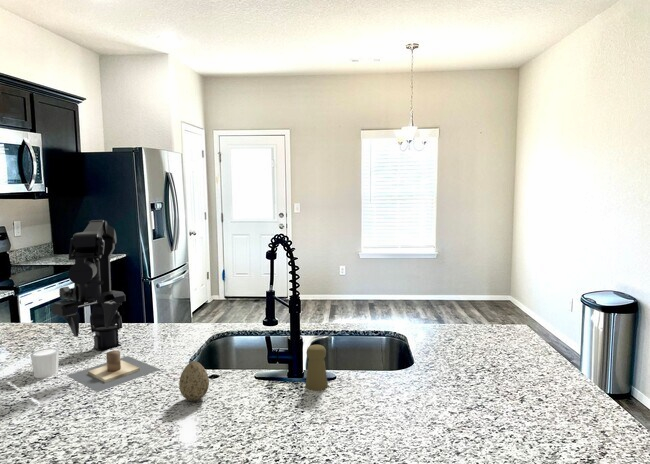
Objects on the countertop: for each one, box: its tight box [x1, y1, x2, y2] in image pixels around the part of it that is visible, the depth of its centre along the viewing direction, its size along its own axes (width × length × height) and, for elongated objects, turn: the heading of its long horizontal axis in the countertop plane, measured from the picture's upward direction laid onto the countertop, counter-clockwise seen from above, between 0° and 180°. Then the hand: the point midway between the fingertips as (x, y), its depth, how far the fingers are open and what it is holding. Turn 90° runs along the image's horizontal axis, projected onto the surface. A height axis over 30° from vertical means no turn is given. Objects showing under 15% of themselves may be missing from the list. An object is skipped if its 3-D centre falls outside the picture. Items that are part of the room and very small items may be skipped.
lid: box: [88, 349, 140, 383], centre depth 125 cm, size 10×10×6 cm
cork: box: [305, 344, 329, 392], centre depth 116 cm, size 6×6×11 cm
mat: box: [66, 355, 161, 393], centre depth 126 cm, size 18×18×1 cm
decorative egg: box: [178, 360, 210, 402], centre depth 109 cm, size 7×7×10 cm
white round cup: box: [30, 347, 60, 379], centre depth 125 cm, size 7×7×7 cm
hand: (92, 332), depth 124 cm, fingers open, 9 cm apart
